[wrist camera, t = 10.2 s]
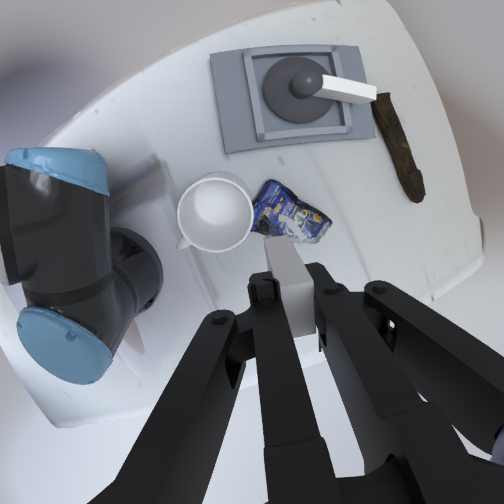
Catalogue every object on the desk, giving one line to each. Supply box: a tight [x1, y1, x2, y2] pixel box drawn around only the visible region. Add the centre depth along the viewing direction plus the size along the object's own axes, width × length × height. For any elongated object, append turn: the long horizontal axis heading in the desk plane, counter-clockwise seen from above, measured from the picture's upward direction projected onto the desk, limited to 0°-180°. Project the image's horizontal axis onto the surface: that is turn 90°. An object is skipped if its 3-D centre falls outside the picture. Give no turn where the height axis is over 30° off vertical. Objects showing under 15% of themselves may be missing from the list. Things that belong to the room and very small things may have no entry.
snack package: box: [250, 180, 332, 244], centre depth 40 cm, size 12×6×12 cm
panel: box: [210, 45, 375, 153], centre depth 33 cm, size 22×15×4 cm
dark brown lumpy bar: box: [370, 92, 426, 203], centre depth 37 cm, size 19×4×5 cm, turn 25°
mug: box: [176, 172, 254, 253], centre depth 36 cm, size 9×12×11 cm
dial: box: [263, 56, 376, 124], centre depth 30 cm, size 13×10×7 cm
